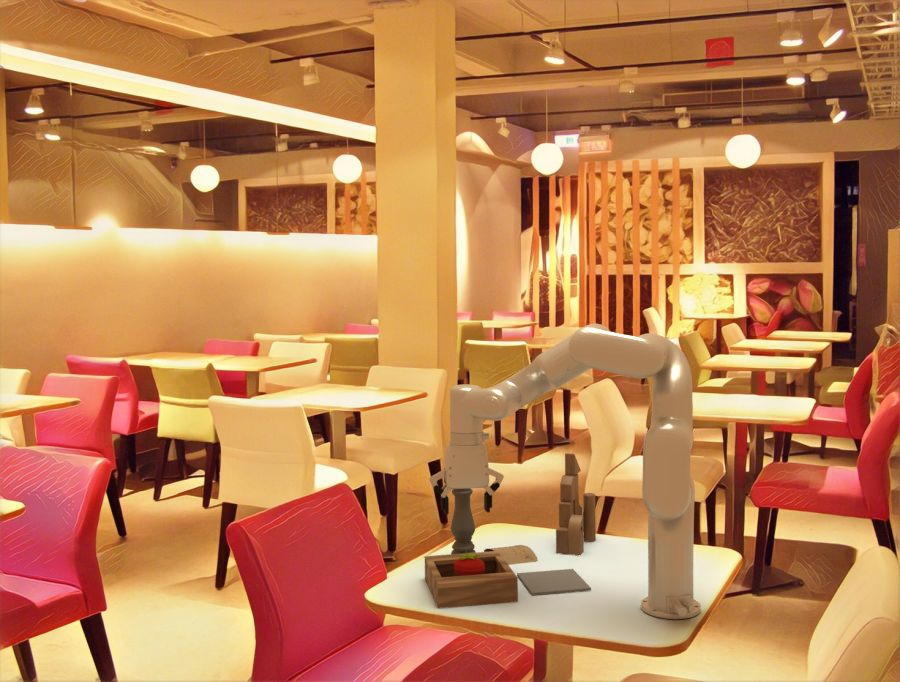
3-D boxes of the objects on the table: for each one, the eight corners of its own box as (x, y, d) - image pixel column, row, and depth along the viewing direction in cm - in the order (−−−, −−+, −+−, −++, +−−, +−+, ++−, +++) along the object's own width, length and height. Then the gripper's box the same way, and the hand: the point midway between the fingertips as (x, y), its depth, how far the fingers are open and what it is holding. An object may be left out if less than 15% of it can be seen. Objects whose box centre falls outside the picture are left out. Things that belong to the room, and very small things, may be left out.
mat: (591, 590, 220) (591, 588, 220) (531, 595, 218) (531, 592, 218) (572, 571, 234) (572, 568, 234) (517, 575, 231) (517, 573, 231)
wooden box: (517, 601, 214) (517, 577, 214) (438, 608, 211) (437, 583, 211) (498, 572, 234) (497, 550, 233) (425, 578, 231) (424, 556, 230)
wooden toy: (581, 556, 245) (580, 460, 243) (555, 553, 248) (554, 458, 246) (597, 539, 259) (596, 448, 257) (573, 537, 262) (572, 446, 260)
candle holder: (481, 564, 241) (479, 466, 238) (464, 570, 236) (462, 470, 234) (462, 559, 245) (460, 462, 243) (446, 565, 240) (444, 467, 238)
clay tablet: (482, 553, 252) (482, 542, 251) (517, 548, 255) (517, 538, 255) (503, 569, 238) (503, 559, 238) (540, 564, 241) (540, 554, 241)
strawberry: (480, 595, 218) (479, 553, 217) (449, 591, 221) (448, 549, 220) (489, 587, 224) (488, 545, 223) (459, 583, 227) (459, 542, 226)
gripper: (499, 434, 224) (499, 506, 226) (426, 437, 221) (427, 509, 223) (507, 440, 217) (506, 514, 219) (431, 443, 214) (432, 518, 216)
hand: (466, 512), depth 221 cm, fingers open, 9 cm apart
